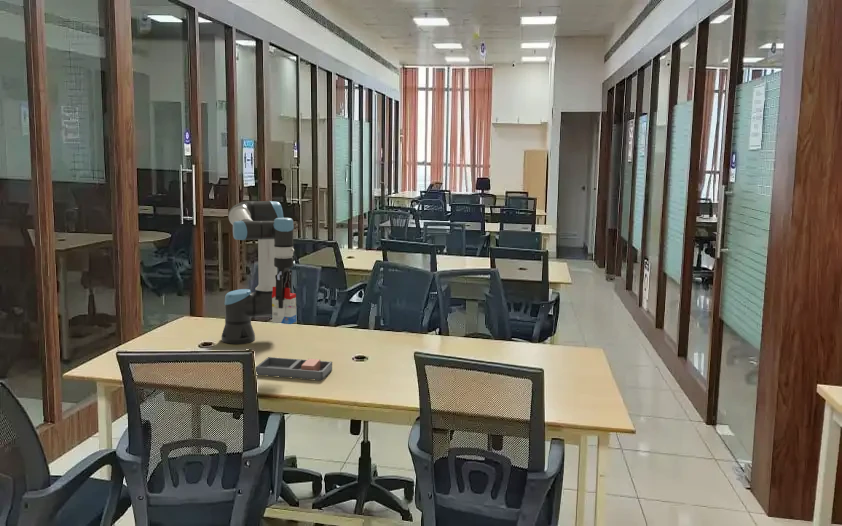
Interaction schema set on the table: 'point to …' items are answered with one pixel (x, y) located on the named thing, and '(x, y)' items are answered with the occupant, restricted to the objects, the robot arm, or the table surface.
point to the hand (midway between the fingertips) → (284, 314)
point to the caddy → (292, 368)
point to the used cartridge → (311, 365)
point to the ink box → (289, 307)
